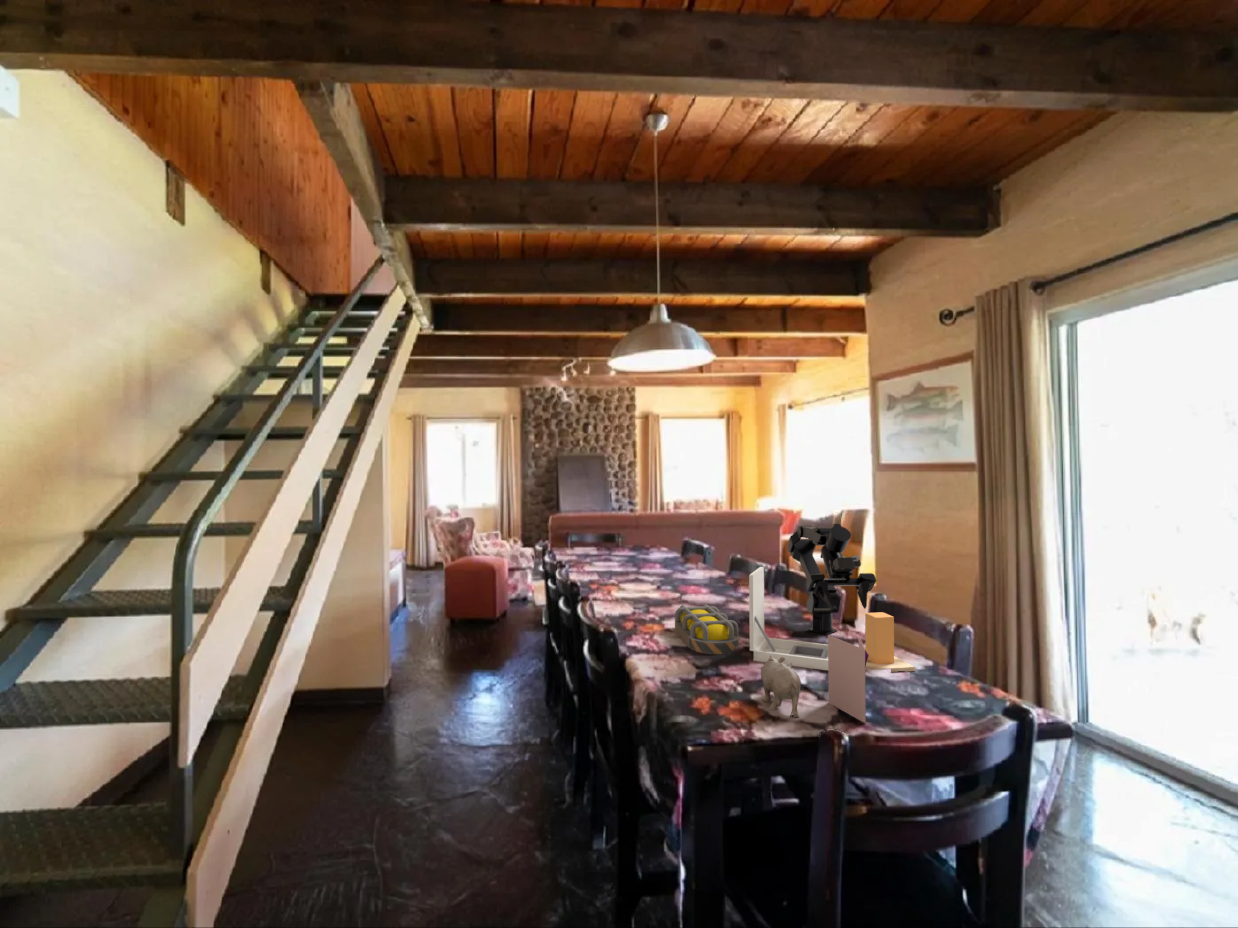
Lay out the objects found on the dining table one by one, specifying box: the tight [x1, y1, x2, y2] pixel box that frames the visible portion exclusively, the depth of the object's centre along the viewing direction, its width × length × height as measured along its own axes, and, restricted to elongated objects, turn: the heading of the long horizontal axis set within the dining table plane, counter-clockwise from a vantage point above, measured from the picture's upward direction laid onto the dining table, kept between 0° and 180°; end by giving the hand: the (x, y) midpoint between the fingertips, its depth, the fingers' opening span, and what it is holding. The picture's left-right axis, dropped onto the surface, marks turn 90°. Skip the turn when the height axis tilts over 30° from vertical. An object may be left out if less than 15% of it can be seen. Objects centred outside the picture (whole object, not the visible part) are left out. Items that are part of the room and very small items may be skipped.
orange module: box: [864, 611, 895, 664], centre depth 159 cm, size 5×5×12 cm
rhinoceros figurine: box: [760, 655, 802, 719], centre depth 133 cm, size 8×14×15 cm
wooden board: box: [865, 655, 916, 673], centre depth 159 cm, size 12×12×1 cm
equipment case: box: [748, 566, 828, 671], centre depth 162 cm, size 14×21×24 cm, turn 65°
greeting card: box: [827, 634, 869, 724], centre depth 129 cm, size 11×7×15 cm, turn 164°
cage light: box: [674, 603, 740, 655], centre depth 183 cm, size 15×8×30 cm
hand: (849, 607), depth 169 cm, fingers open, 9 cm apart
